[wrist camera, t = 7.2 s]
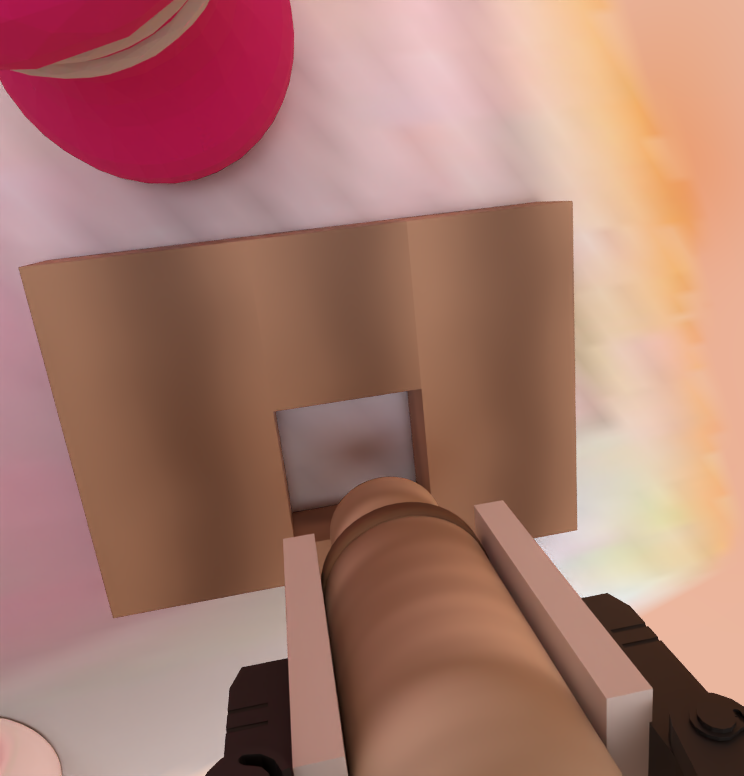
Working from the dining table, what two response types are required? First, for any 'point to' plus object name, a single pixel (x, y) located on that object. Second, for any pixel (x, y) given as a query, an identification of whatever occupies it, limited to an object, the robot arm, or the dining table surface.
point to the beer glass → (25, 752)
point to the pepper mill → (149, 79)
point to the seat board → (305, 382)
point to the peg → (439, 651)
